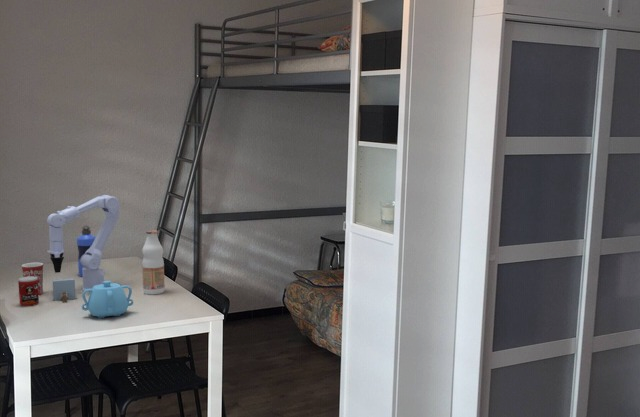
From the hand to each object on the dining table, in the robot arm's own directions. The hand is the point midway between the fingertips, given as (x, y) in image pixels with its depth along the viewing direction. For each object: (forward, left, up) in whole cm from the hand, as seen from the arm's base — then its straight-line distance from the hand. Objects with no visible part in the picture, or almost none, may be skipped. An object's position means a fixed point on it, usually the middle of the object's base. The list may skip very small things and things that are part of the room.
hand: (57, 270), depth 322 cm
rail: (-2, +11, -10) cm, 16 cm away
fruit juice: (-40, +13, -11) cm, 44 cm away
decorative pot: (-18, +43, -11) cm, 48 cm away
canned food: (+12, +14, -11) cm, 21 cm away
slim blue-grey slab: (-2, +11, -10) cm, 16 cm away
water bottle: (-14, -34, -11) cm, 38 cm away
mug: (+10, -5, -11) cm, 15 cm away
